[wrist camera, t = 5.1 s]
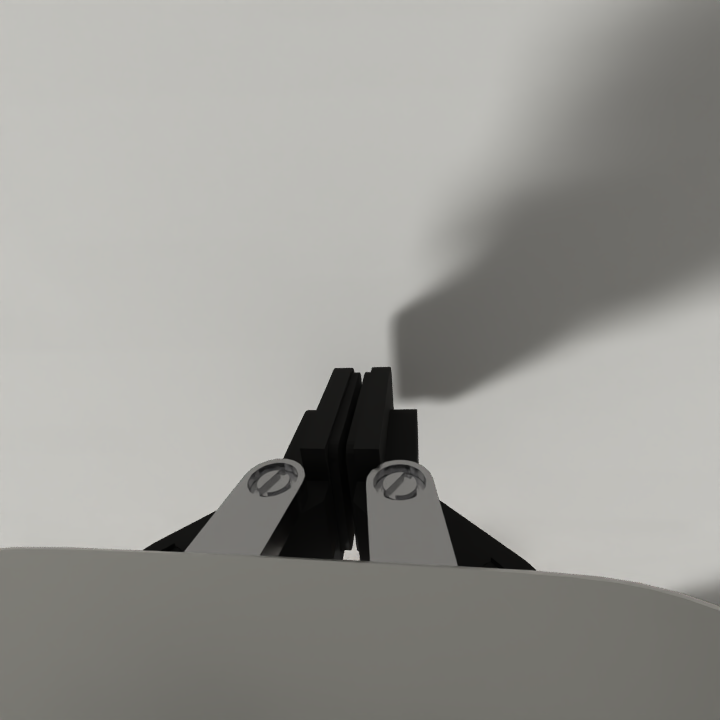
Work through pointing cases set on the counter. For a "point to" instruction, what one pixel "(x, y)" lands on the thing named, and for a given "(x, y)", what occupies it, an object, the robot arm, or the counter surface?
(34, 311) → the counter surface
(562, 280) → the counter surface
